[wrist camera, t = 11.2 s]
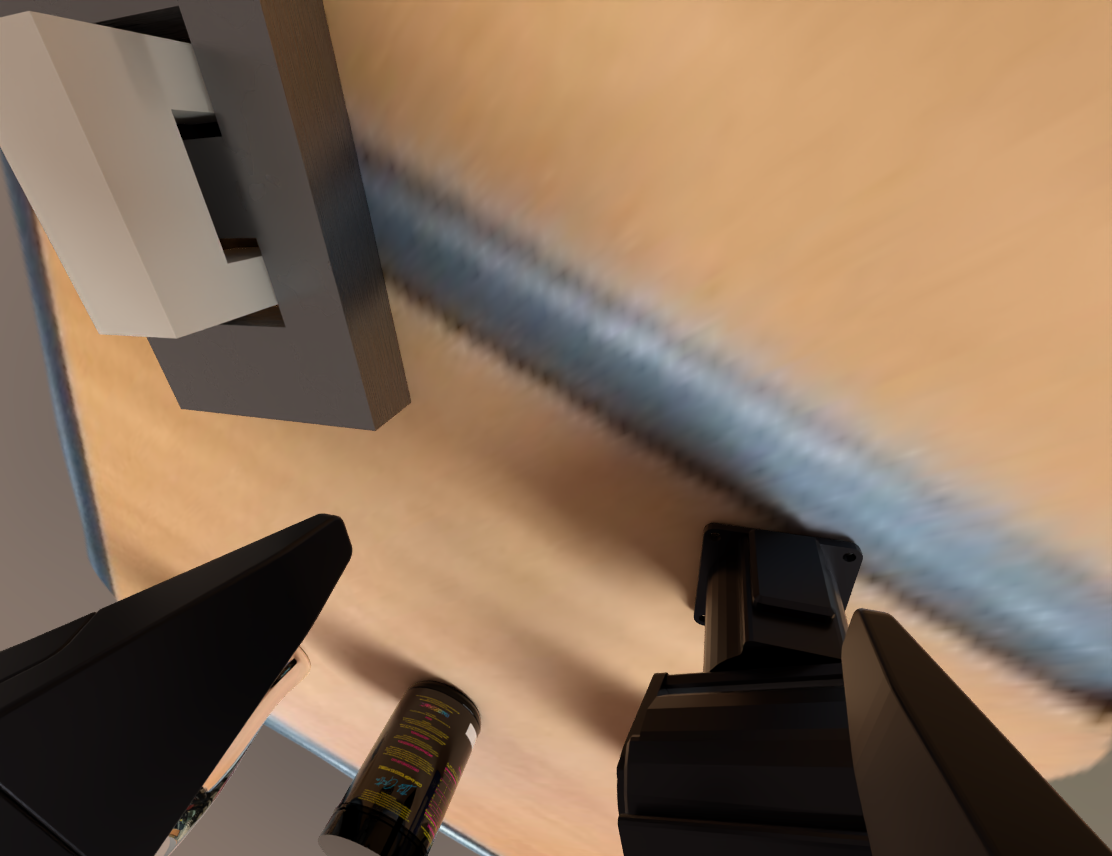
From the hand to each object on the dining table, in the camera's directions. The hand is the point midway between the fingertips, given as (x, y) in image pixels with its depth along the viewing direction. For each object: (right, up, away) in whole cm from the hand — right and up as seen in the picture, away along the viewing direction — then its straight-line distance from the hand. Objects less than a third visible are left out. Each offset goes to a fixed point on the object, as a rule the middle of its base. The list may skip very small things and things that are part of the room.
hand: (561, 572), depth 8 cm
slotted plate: (-14, +13, +13) cm, 23 cm away
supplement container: (-9, -19, +30) cm, 37 cm away
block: (-14, +13, +13) cm, 23 cm away
